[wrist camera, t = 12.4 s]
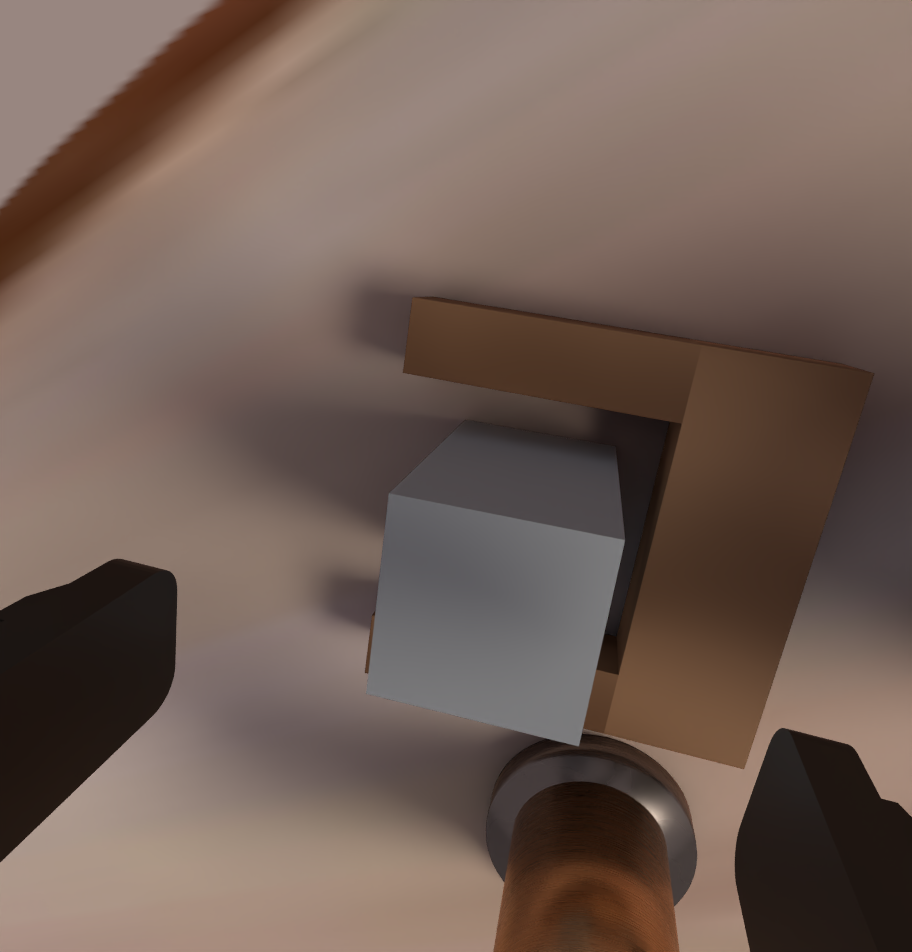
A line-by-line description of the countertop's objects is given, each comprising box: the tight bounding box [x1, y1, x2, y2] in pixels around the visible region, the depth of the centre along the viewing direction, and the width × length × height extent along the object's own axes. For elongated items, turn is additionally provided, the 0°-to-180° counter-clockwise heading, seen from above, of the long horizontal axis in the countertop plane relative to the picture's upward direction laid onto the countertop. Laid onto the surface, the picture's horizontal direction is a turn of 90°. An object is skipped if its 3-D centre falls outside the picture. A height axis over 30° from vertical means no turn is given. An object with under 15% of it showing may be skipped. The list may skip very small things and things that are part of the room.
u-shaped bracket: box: [365, 297, 874, 769], centre depth 17 cm, size 10×10×2 cm
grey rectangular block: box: [366, 420, 625, 746], centre depth 15 cm, size 4×4×7 cm
